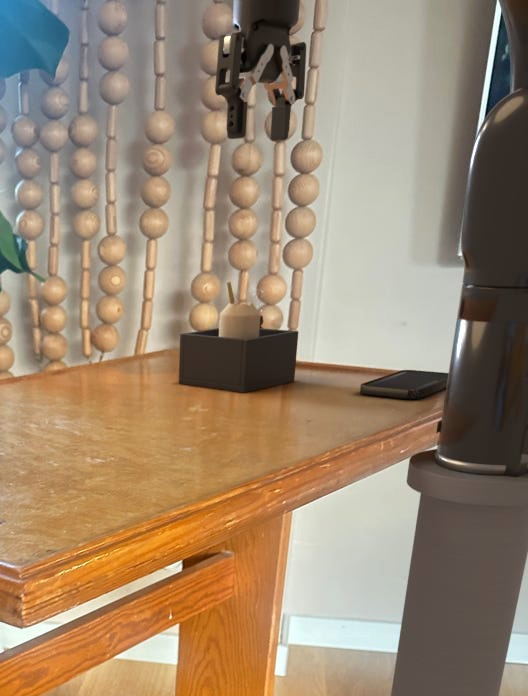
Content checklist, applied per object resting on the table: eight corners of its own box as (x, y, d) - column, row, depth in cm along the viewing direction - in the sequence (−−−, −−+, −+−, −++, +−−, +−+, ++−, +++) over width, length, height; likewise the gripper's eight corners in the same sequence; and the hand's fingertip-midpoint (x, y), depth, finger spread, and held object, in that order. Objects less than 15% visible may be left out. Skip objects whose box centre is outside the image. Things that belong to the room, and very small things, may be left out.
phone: (357, 385, 120) (404, 369, 129) (356, 393, 120) (403, 377, 130) (417, 390, 115) (461, 373, 125) (416, 400, 115) (460, 382, 125)
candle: (250, 372, 133) (255, 299, 129) (260, 379, 128) (266, 303, 124) (212, 374, 133) (216, 301, 129) (221, 380, 128) (225, 304, 124)
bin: (294, 381, 130) (298, 331, 128) (244, 392, 124) (247, 340, 121) (229, 373, 138) (231, 325, 136) (178, 383, 132) (179, 333, 129)
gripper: (256, -37, 98) (247, 135, 105) (331, -20, 107) (318, 138, 114) (202, -23, 103) (196, 140, 110) (277, -8, 112) (267, 143, 119)
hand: (258, 139), depth 112 cm, fingers open, 8 cm apart
